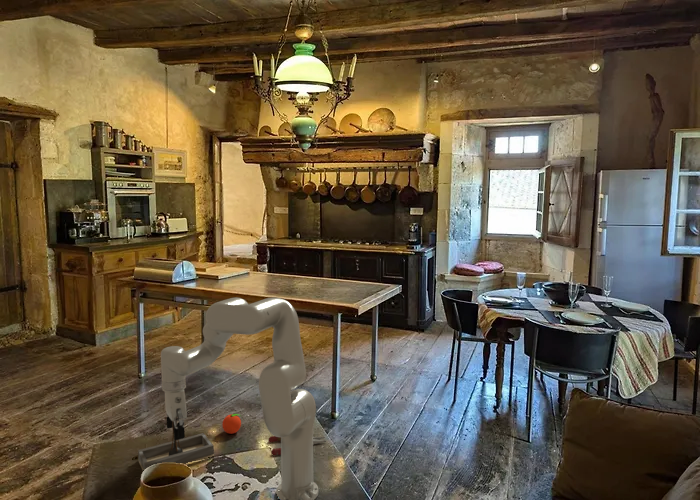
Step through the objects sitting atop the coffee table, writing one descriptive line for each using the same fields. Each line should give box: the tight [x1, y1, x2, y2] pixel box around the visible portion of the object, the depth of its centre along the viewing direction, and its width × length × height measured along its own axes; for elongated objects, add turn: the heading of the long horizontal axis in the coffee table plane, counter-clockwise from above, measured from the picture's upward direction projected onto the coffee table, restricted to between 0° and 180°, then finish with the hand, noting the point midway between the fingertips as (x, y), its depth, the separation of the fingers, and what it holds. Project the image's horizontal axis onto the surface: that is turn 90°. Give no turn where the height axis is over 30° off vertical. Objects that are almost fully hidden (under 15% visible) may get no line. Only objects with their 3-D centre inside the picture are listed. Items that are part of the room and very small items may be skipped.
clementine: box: [221, 413, 243, 435], centre depth 186 cm, size 8×7×7 cm
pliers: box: [268, 435, 327, 456], centre depth 177 cm, size 12×20×3 cm, turn 105°
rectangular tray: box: [137, 432, 215, 471], centre depth 167 cm, size 12×22×4 cm, turn 124°
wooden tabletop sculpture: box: [169, 417, 183, 456], centre depth 166 cm, size 6×5×20 cm
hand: (175, 433), depth 166 cm, fingers open, 9 cm apart
